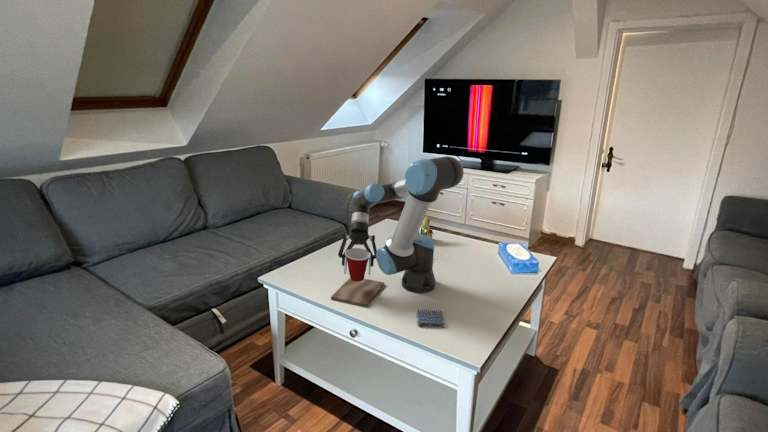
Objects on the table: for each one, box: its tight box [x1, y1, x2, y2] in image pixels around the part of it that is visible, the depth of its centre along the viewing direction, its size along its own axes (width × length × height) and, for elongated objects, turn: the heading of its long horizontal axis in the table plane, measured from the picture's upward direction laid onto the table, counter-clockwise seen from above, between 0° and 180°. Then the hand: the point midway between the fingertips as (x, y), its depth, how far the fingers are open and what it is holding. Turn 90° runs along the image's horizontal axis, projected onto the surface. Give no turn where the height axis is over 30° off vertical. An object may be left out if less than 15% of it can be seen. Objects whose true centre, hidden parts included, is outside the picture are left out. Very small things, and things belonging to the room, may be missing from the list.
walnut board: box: [330, 277, 385, 308], centre depth 177 cm, size 16×20×1 cm
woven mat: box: [416, 309, 446, 328], centre depth 158 cm, size 10×11×2 cm
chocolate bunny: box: [419, 215, 434, 239], centre depth 229 cm, size 7×11×15 cm, turn 143°
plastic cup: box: [344, 247, 371, 282], centre depth 174 cm, size 11×11×12 cm
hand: (357, 273), depth 171 cm, fingers closed on plastic cup, 9 cm apart
